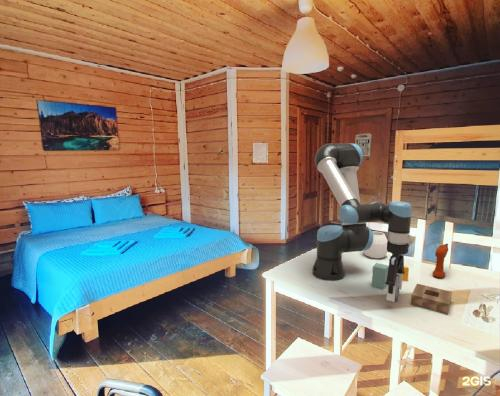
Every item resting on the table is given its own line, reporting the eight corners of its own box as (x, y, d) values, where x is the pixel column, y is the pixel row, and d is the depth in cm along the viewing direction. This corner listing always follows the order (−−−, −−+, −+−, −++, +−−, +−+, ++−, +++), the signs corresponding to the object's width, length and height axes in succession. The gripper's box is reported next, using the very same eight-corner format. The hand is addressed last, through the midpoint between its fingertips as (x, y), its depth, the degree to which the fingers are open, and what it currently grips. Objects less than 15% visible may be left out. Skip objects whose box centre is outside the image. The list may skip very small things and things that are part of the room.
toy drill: (450, 268, 146) (453, 239, 144) (443, 280, 133) (446, 248, 130) (439, 265, 149) (442, 237, 147) (430, 277, 136) (433, 246, 134)
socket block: (410, 304, 112) (411, 294, 112) (416, 292, 122) (416, 283, 121) (448, 314, 105) (449, 304, 104) (450, 301, 114) (451, 291, 114)
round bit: (388, 300, 116) (390, 276, 114) (390, 296, 118) (392, 273, 117) (397, 302, 114) (399, 278, 112) (399, 299, 116) (400, 275, 115)
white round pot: (386, 253, 168) (387, 231, 165) (388, 261, 155) (390, 237, 153) (362, 251, 172) (363, 229, 170) (362, 258, 160) (363, 235, 158)
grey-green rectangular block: (371, 285, 128) (372, 266, 127) (375, 281, 132) (376, 262, 131) (384, 289, 125) (385, 269, 124) (387, 284, 129) (388, 265, 128)
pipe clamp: (389, 270, 145) (389, 258, 144) (398, 270, 144) (399, 258, 143) (397, 280, 133) (398, 267, 132) (407, 281, 132) (408, 267, 131)
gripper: (402, 252, 101) (397, 310, 104) (414, 236, 119) (410, 285, 123) (379, 248, 105) (375, 303, 109) (394, 233, 124) (391, 281, 127)
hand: (394, 294), depth 116 cm, fingers open, 12 cm apart
